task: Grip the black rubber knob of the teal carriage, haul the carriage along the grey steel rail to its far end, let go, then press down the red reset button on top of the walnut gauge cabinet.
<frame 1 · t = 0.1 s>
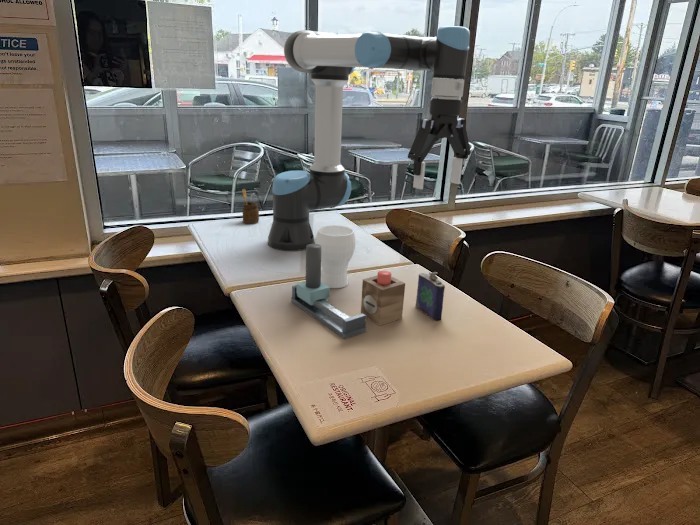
hand: (436, 185, 126), 28 cm above the table, fingers open, 13 cm apart
cup: (334, 283, 135), on the table
gauge cabinet: (381, 315, 118), on the table
carriage: (313, 272, 118), point 9 cm above the table, slide at -6.0 cm
rail track: (326, 315, 117), on the table
utensil holder: (250, 222, 185), on the table
flask: (428, 313, 121), on the table
reset button: (383, 282, 115), point 9 cm above the table, slide at 0.0 cm
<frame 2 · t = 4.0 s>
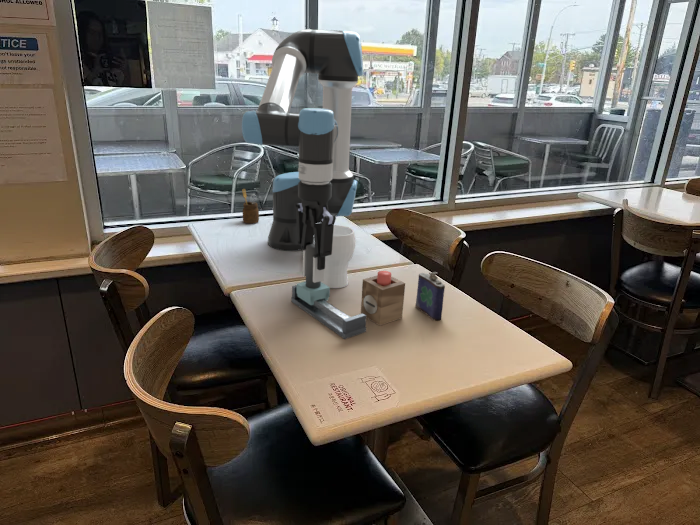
hand: (313, 277, 118), 8 cm above the table, fingers closed on carriage, 4 cm apart
carriage: (313, 272, 118), point 9 cm above the table, slide at -6.0 cm, touching gripper
everything else where it was.
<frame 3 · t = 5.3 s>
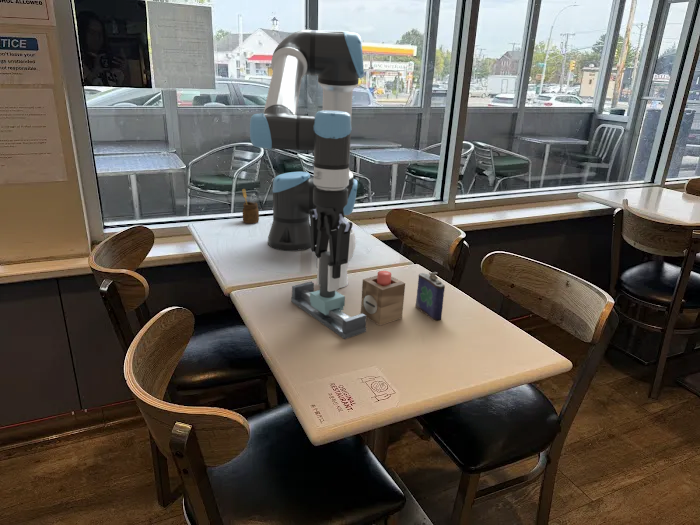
hand: (327, 286, 114), 8 cm above the table, fingers closed on carriage, 4 cm apart
carriage: (327, 281, 114), point 9 cm above the table, slide at 0.0 cm, touching gripper
everything else where it was.
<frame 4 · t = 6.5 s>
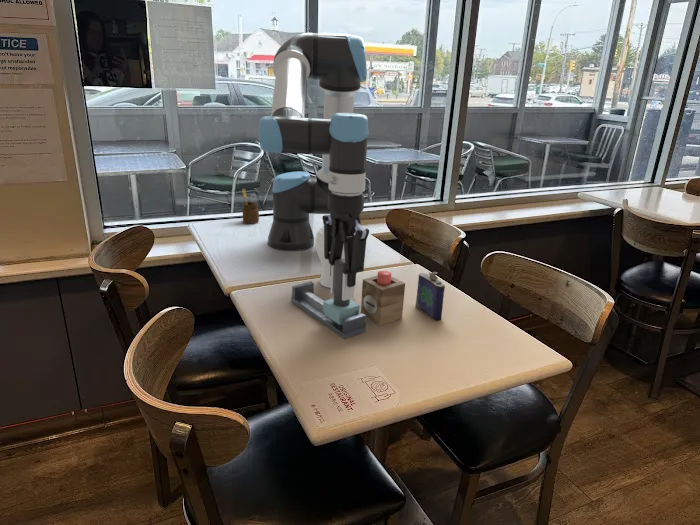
hand: (341, 295, 110), 8 cm above the table, fingers closed on carriage, 4 cm apart
carriage: (342, 289, 110), point 9 cm above the table, slide at 5.5 cm, touching gripper
everything else where it was.
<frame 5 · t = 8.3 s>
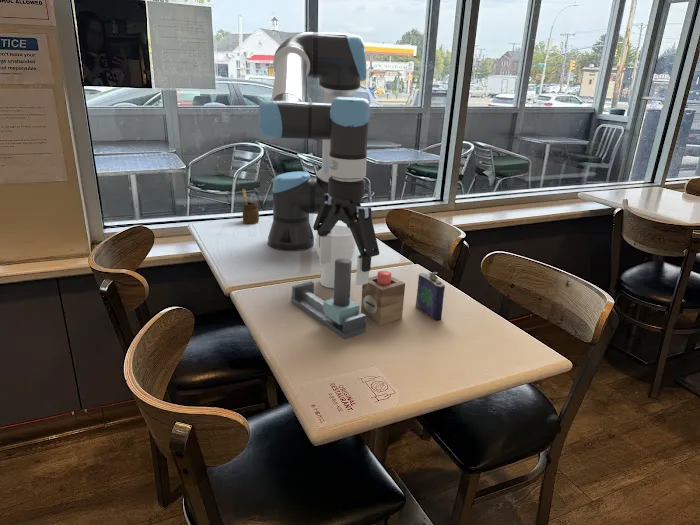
hand: (342, 273, 109), 13 cm above the table, fingers open, 13 cm apart
carriage: (342, 289, 110), point 9 cm above the table, slide at 5.5 cm
everything else where it was.
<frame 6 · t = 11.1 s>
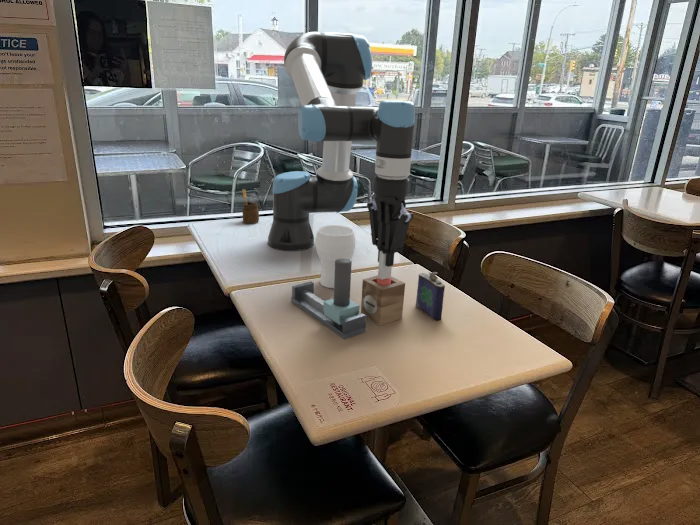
hand: (384, 277, 114), 10 cm above the table, fingers closed
reset button: (383, 287, 115), point 8 cm above the table, slide at -1.3 cm, touching gripper
everything else where it was.
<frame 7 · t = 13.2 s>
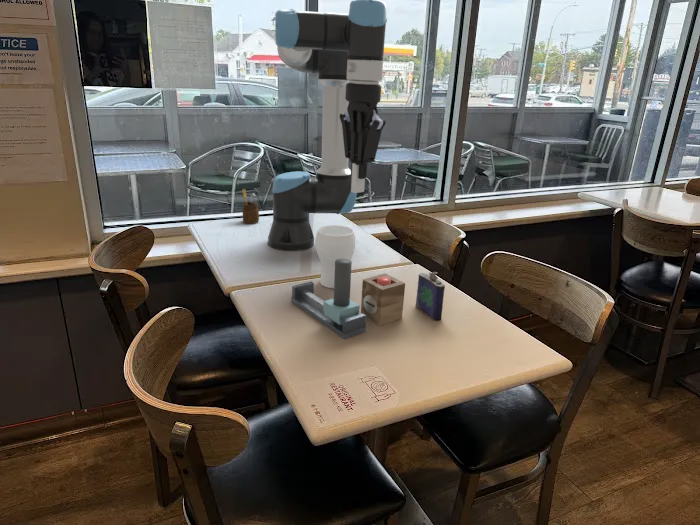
hand: (357, 191, 113), 29 cm above the table, fingers closed
reset button: (383, 288, 115), point 7 cm above the table, slide at -1.5 cm
everything else where it was.
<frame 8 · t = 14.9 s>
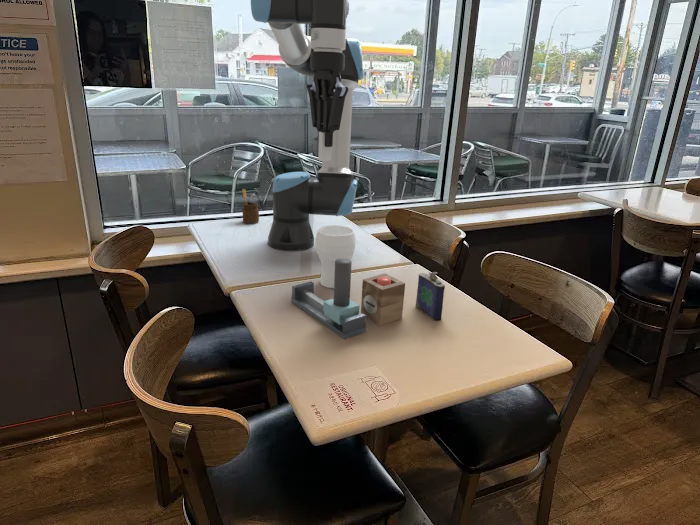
hand: (324, 160, 116), 34 cm above the table, fingers closed
nothing on the table moved.
at the end: carriage slide at 5.5 cm; reset button slide at -1.5 cm; the gripper is holding nothing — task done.
